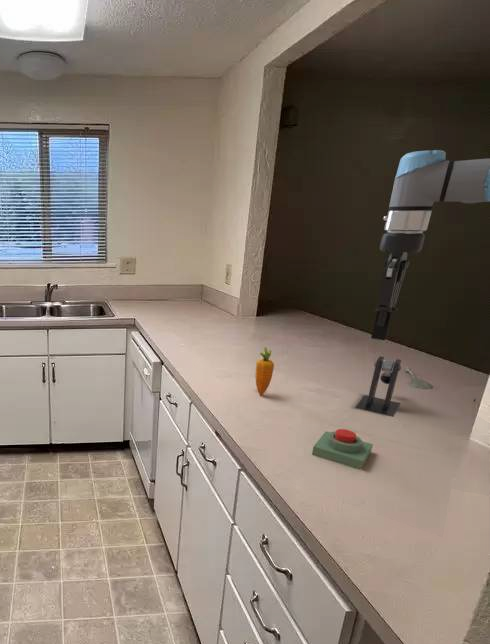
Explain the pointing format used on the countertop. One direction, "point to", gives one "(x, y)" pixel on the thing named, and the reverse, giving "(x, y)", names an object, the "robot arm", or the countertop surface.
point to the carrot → (264, 372)
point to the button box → (342, 450)
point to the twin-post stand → (386, 405)
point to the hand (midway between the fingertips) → (378, 338)
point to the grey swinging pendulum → (387, 371)
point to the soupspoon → (417, 381)
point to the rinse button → (345, 436)
